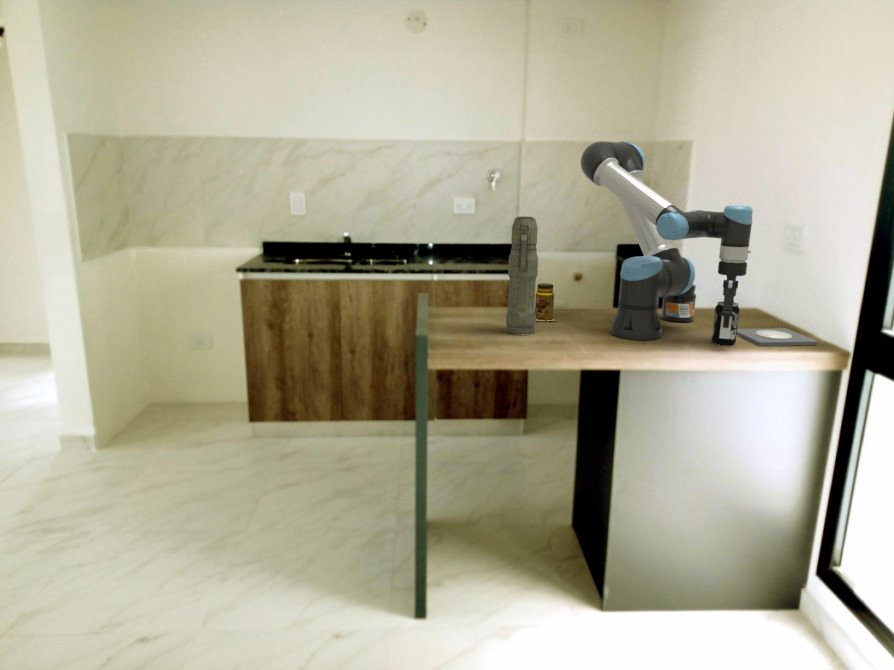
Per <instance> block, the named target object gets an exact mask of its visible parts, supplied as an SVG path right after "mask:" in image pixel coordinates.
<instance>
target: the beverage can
mask: <svg viewBox="0 0 894 670" xmlns="http://www.w3.org/2000/svg"><path fill="white" fill-rule="evenodd" d="M723 304H724V300H723V301H717V303H716V306H715V307H714V317H713V324H712V333H711V341H712V343H713V342H714V343H713V344H715V343H716V344H715V345H717V344H720V345H719V346H722V345H731V346H734V344H736V342H737V329H738V326H739V319H740V318H739V317H740V308H739V303H737V302H735V301H734V302H733V308H732V322H731V331H730V339H723V338H719V337H720V327H721V318H722V316H719V314H720V313H722V312H723Z"/></svg>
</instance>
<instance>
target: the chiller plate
mask: <svg viewBox="0 0 894 670" xmlns="http://www.w3.org/2000/svg"><path fill="white" fill-rule="evenodd" d="M737 335H738V336H737ZM737 335H736V336H737V337H739V336H740V337H739V338H741V339H743V340H745V341H748V342H749V343H752V344H753V345H756V346H758V347H791V346H790V345H816V346H819V341H817V340H816V339H813V338H811V337H808V336H806V335H803V334H800V333H798V332H797V331H793V330H790V329H789V328H783V327H781V328H777V327H776V328H737Z"/></svg>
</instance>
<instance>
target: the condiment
mask: <svg viewBox="0 0 894 670" xmlns="http://www.w3.org/2000/svg"><path fill="white" fill-rule="evenodd" d="M554 304H555V293H554V284H552V283H542V282H540V283H538V284H537V288H536V291H535V305H534V310H535V314H536V319H538V320H545V321H547V320H552V319H553V316H554V309H555V307H554Z"/></svg>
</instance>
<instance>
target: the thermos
mask: <svg viewBox="0 0 894 670" xmlns="http://www.w3.org/2000/svg"><path fill="white" fill-rule="evenodd" d="M538 229H539V228H538V224H537V221H536V218H534V217H533V216H517V217H515V218H514V220H513V223H512V226H511V248H510V254H509V256H508V271H507V272H508V273H507V275H508V277H509V284H508V285H509V287H508V308H507V311H506V319H505V320H506V321H505V323H506V324H505V325H506V333H507V332H509V333H512V334H511V335H513V334H520V335H519V336H522V335H521V334H531V333H534V334H535V332H536V331H535V326H536V322H537V321H536V314H535V301H536V282H537V281H536V279H537V277H538V276H539V275H538V271H539V257H538V254H537V244H538ZM509 333H508V334H509ZM531 335H532V334H531Z"/></svg>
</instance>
